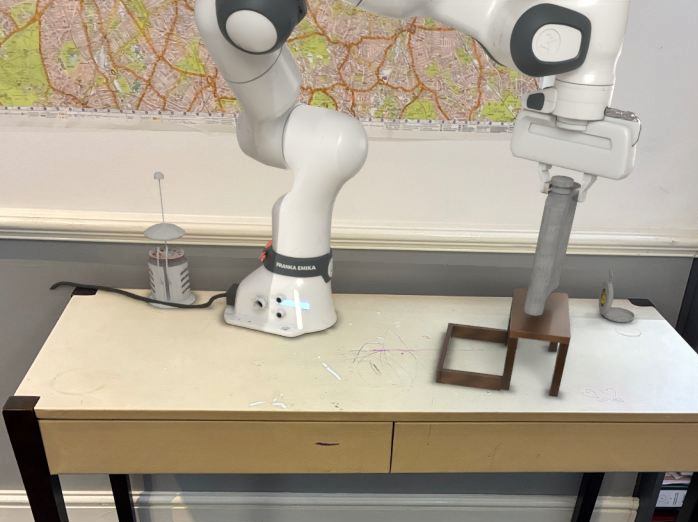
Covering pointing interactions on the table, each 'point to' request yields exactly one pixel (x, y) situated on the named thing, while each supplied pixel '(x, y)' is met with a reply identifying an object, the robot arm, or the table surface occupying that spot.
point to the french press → (168, 264)
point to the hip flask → (551, 243)
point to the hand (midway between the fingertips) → (562, 197)
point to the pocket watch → (606, 302)
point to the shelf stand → (513, 341)
